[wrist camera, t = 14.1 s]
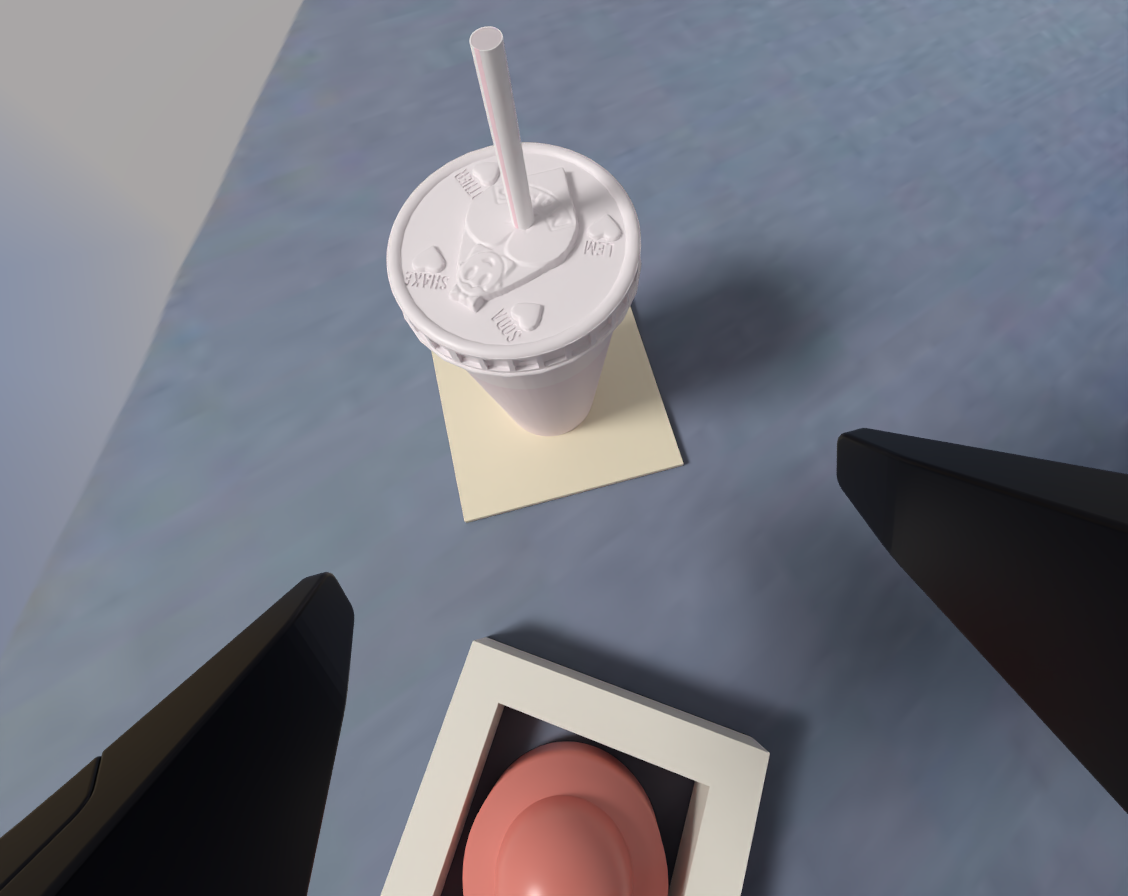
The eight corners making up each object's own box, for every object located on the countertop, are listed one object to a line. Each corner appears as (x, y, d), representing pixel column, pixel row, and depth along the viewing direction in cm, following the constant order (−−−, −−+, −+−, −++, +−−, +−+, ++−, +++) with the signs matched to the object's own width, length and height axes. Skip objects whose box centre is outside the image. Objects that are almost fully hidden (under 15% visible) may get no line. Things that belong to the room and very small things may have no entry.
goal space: (682, 465, 21) (683, 463, 20) (466, 522, 21) (464, 521, 20) (620, 281, 23) (620, 277, 23) (429, 331, 23) (427, 328, 23)
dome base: (751, 737, 18) (769, 753, 16) (674, 1093, 15) (685, 1163, 13) (485, 637, 19) (473, 640, 17) (376, 944, 17) (346, 987, 15)
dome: (682, 781, 17) (704, 831, 13) (630, 993, 16) (639, 1119, 12) (514, 714, 18) (491, 743, 14) (450, 908, 17) (405, 999, 13)
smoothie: (654, 371, 22) (739, -2, 8) (572, 497, 20) (516, 296, 7) (529, 304, 23) (429, -110, 10) (445, 418, 22) (194, 123, 8)
